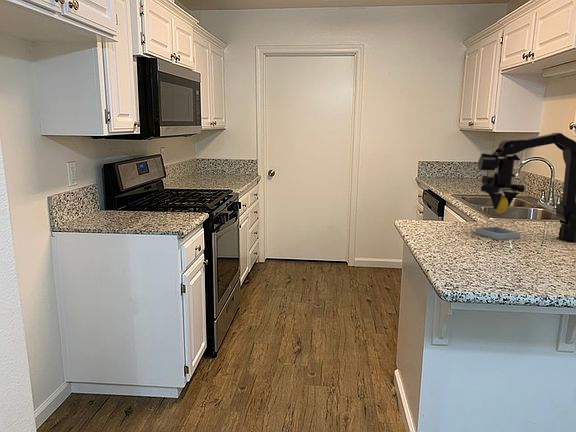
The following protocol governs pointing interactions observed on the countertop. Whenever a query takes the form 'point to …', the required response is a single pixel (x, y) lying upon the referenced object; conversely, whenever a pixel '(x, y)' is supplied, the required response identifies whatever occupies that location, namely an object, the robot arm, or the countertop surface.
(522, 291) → the countertop surface
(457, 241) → the countertop surface
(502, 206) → the lemon
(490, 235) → the dish
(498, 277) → the countertop surface
